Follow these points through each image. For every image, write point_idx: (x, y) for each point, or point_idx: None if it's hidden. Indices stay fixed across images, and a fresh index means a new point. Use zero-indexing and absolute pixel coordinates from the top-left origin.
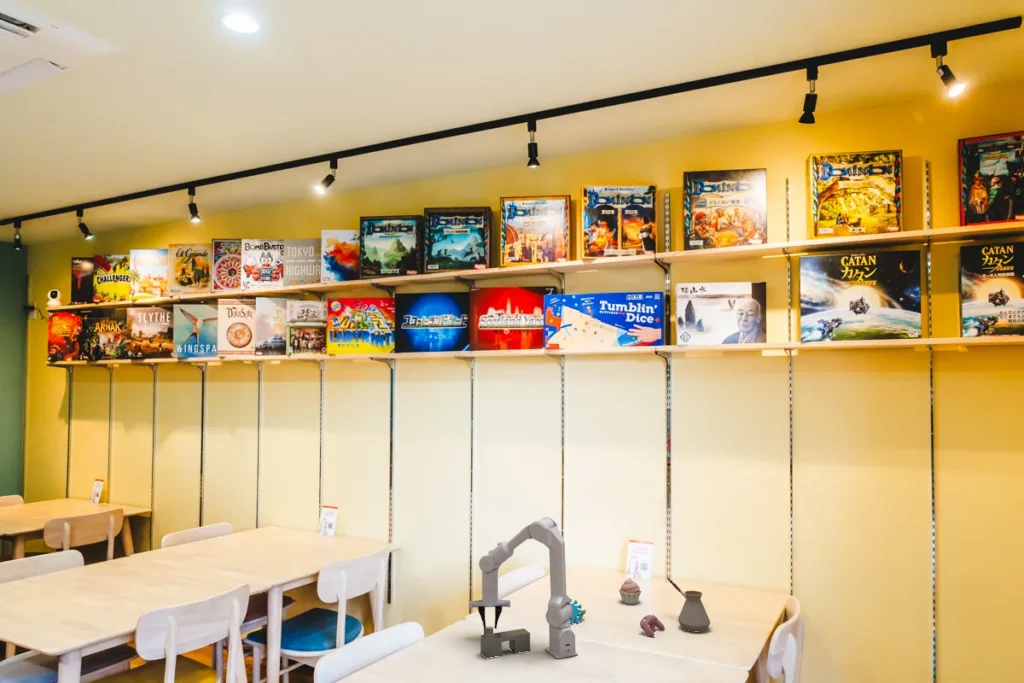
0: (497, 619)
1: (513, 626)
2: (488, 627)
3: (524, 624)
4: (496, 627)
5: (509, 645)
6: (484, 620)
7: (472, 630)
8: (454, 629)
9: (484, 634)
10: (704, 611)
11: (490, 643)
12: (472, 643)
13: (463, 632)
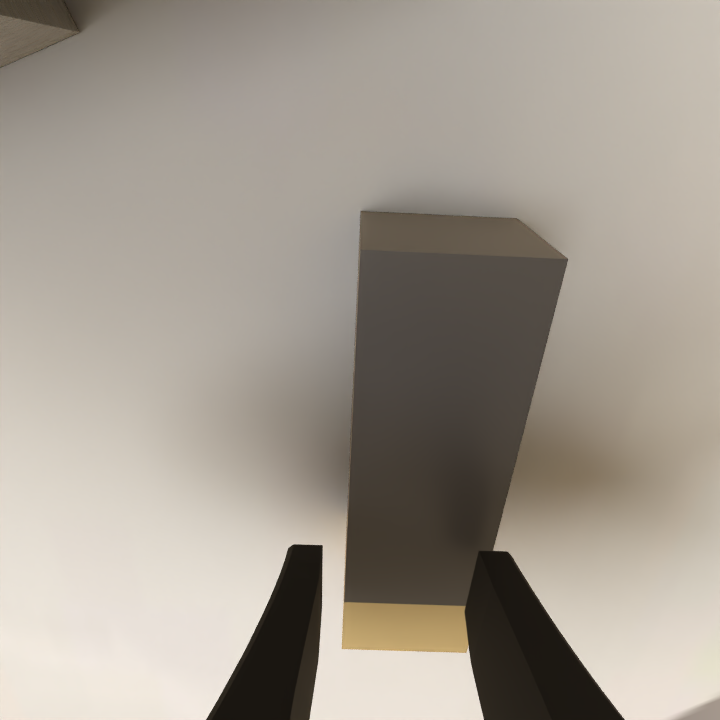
0: (233, 713)
1: (147, 689)
2: (407, 626)
3: (53, 711)
4: (288, 558)
5: (31, 2)
6: (558, 702)
7: None
8: (699, 679)
9: (516, 406)
10: None
11: None
12: (650, 346)
13: (641, 624)
